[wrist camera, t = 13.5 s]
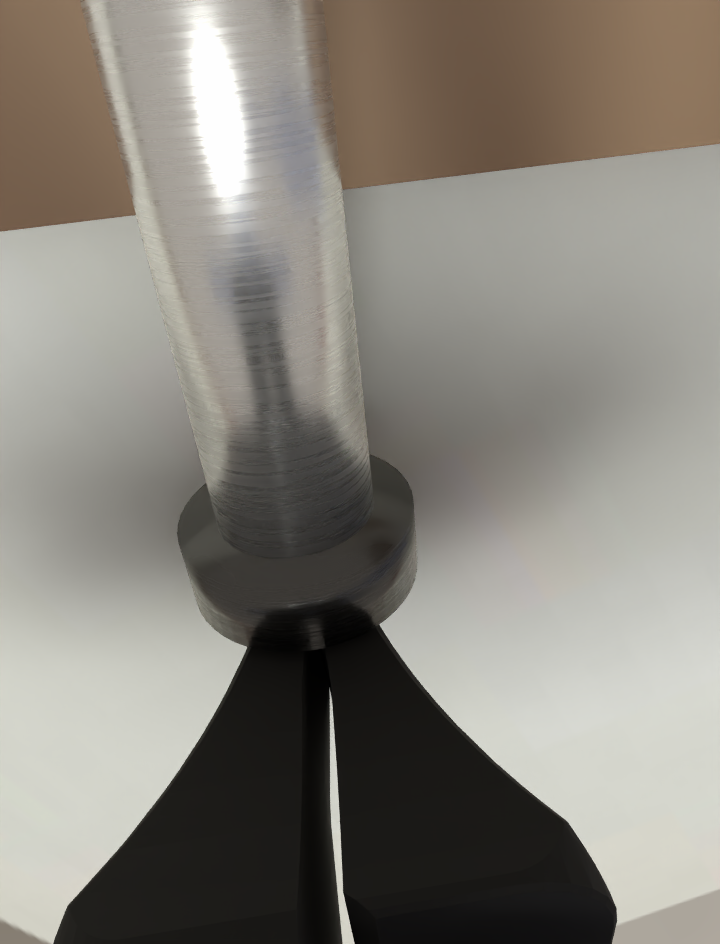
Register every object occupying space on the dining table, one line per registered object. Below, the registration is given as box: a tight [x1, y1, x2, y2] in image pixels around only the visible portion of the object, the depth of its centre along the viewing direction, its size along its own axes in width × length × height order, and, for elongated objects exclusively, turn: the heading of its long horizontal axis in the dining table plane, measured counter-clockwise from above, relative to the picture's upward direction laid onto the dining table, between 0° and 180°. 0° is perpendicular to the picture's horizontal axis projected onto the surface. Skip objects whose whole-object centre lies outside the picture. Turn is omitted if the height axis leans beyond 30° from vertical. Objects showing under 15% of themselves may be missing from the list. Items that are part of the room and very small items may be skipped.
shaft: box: [80, 0, 417, 652], centre depth 7 cm, size 4×13×4 cm, turn 5°
